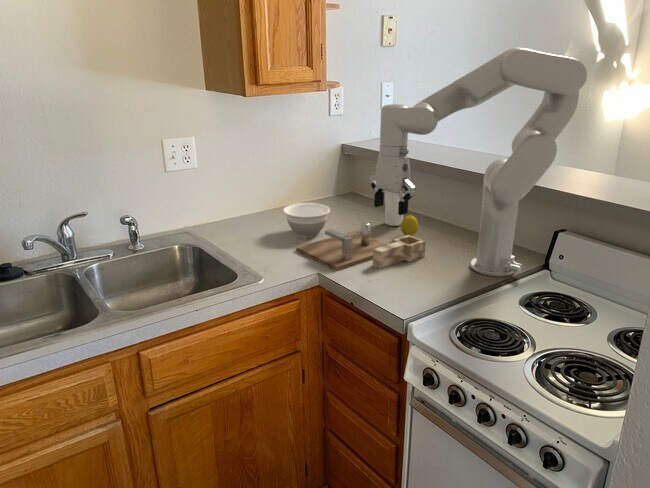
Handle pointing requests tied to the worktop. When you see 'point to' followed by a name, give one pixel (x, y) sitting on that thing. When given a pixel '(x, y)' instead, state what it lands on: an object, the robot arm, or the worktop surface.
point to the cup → (392, 209)
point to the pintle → (365, 234)
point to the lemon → (409, 225)
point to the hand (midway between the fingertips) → (390, 209)
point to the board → (339, 251)
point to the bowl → (306, 218)
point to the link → (399, 251)
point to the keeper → (345, 242)
